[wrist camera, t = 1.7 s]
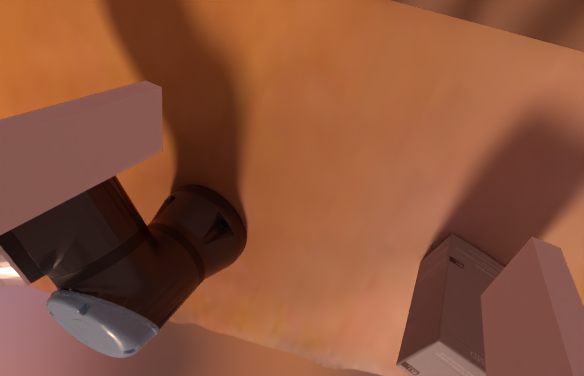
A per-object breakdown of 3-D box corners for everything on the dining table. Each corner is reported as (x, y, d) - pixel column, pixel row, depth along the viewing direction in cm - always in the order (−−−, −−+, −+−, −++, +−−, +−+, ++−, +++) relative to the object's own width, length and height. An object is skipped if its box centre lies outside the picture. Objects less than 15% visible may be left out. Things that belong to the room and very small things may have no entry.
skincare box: (514, 270, 38) (540, 404, 26) (470, 301, 43) (474, 429, 30) (449, 228, 39) (444, 339, 27) (412, 263, 43) (393, 372, 31)
